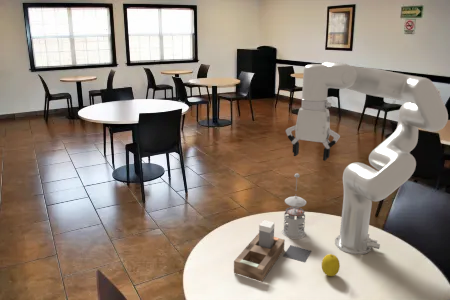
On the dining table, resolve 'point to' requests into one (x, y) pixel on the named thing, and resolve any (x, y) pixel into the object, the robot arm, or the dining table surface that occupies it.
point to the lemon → (330, 265)
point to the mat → (297, 253)
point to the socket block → (258, 259)
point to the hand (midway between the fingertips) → (310, 157)
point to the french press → (294, 225)
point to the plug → (266, 234)
